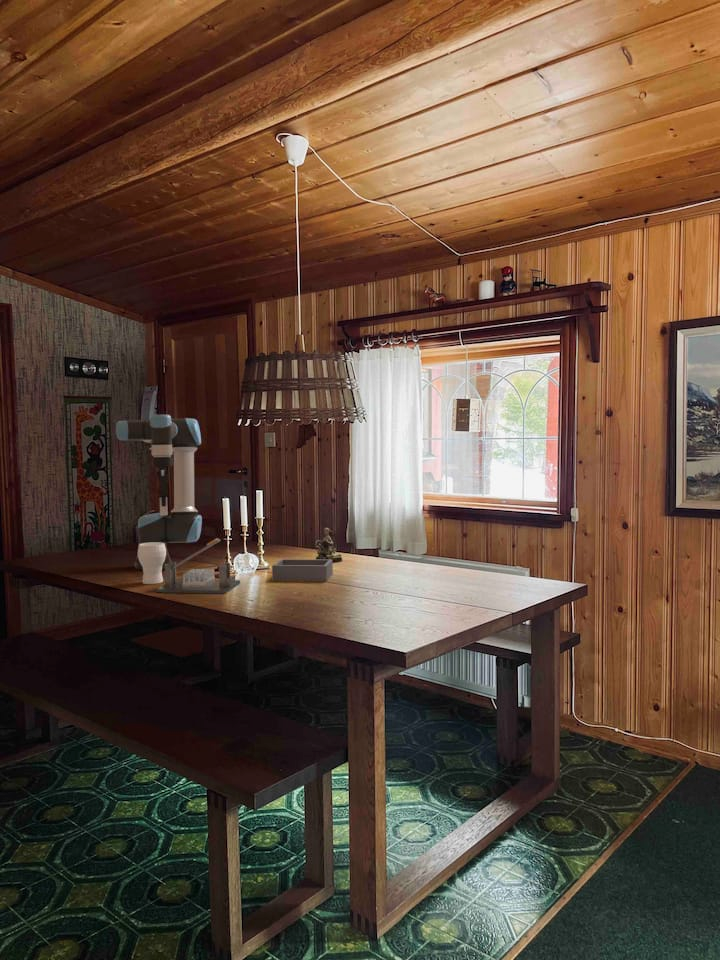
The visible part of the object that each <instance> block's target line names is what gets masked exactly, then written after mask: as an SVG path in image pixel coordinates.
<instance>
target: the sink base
mask: <svg viewBox="0 0 720 960" xmlns="http://www.w3.org/2000/svg"><path fill="white" fill-rule="evenodd" d="M176 564H177V561H171V562H170V564H165V569H164V584H163V585H161V586H160V587H158V588H156V589H155V592H162V594H165V593H167V594H168V593H169V594H171V593H173V594H216V595H217V594H219V595H221V594H223V595H225V594H227V593H229V592H230V591H231V590H233V589H234V588H236V587H237V586H239V585H240V584H241V580H240V579H236V575H231V562H223V563H222V564H219V565H218V579H216V577H215V569H214V568H211V569H210V568H206V569H205V568H201V569H200V568H196V569H195V568H191V569H189V570H187V571H185V572H183V573H182V579H178V578H177V567H175V568H174V570H173V571H171V566H174V565H176Z"/></svg>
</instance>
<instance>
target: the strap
mask: <svg viewBox="0 0 720 960" xmlns="http://www.w3.org/2000/svg"><path fill="white" fill-rule="evenodd" d="M220 541H221V538H218V537H217V538H214V539H213V540H211V541H209V542H208V543H206V546H204V547H202V548H201V549H199V550H198V551H196V552H194V553H192V554H191V555H189V556H188V557H186V558H184V559H182V560H181V561H179V562H178V563H177V562H176V565H174V566H171V571H173V570H174V568H175V567H176V568H177V567H179V566H180V565H183V564H184V563H185V562H187V561H189V560H191V559H192V558H194V557H195V556H197V555H199V554H200V553H202V552H204V551H206V550H208V549H209V548H211V547H213V546H214V545H215V544H218V543H219V542H220Z"/></svg>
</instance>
